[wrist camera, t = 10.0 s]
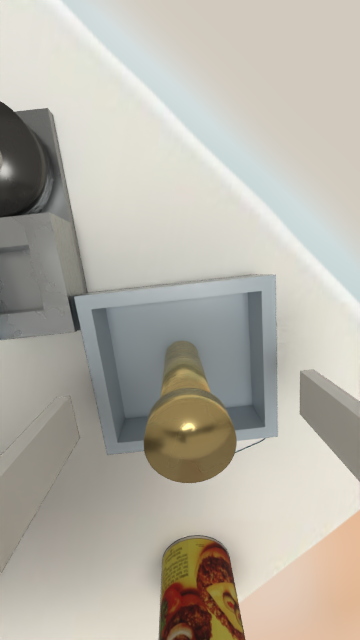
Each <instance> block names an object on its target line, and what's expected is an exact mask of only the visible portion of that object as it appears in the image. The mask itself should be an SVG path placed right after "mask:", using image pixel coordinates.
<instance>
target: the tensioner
mask: <svg viewBox="0 0 360 640" xmlns="http://www.w3.org/2000/svg"><path fill="white" fill-rule="evenodd" d="M84 294H87V288H86V283H85V278H84V273H83V268H82V263H81V258H80V253H79V248H78V243H77V237H76V232H75V227H74V222H73V217H72V212H71V207H70V202H69V197H68V192H67V187H66V181H65V176H64V171H63V166H62V161H61V156H60V151H59V146H58V141H57V136H56V130H55V125H54V120H53V115H52V113H51V112H50V111H49V109H48V108H45V109H35V110H26V111H17V112H14V111H13V110H12V109H10V108H9V107H8V106H6V105H5V104H4V103H2V102H0V340H5V339H15V338H24V337H33V336H42V335H51V334H61V333H70V332H76V331H77V330H81V327H80V323H79V318H78V313H77V308H76V304H75V299H74V297H75V296H80V295H84Z"/></svg>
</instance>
